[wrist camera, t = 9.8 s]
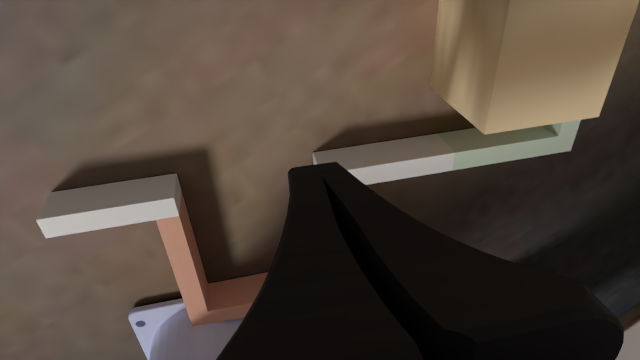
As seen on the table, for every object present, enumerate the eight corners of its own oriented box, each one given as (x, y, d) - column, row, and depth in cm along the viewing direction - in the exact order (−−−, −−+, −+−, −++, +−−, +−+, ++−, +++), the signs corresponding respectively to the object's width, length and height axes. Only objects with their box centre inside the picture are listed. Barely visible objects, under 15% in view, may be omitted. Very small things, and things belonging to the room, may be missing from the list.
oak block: (523, 74, 21) (598, 117, 17) (429, 87, 20) (484, 134, 16) (549, -37, 18) (646, -19, 14) (441, -28, 18) (510, -5, 14)
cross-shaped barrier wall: (516, 235, 28) (535, 256, 26) (111, 315, 24) (104, 345, 22) (721, -490, 12) (800, -549, 11) (-337, -585, 8) (-466, -700, 7)
